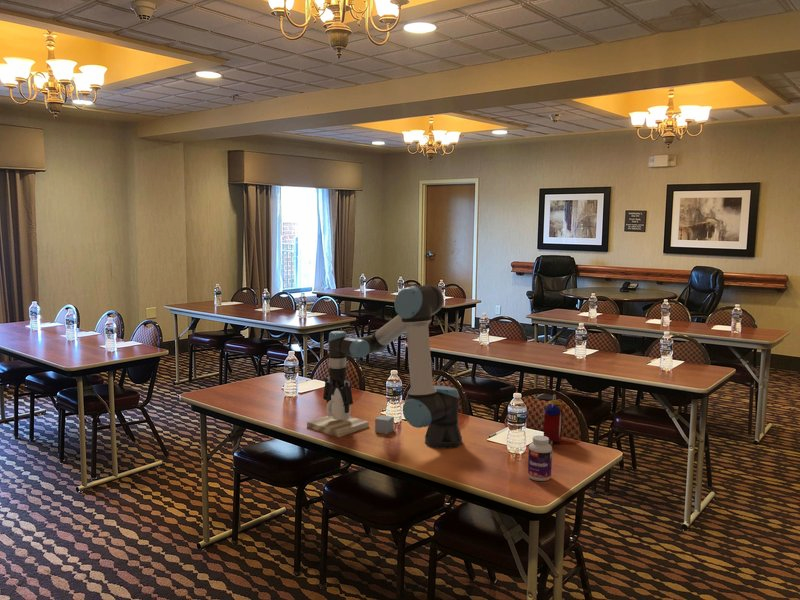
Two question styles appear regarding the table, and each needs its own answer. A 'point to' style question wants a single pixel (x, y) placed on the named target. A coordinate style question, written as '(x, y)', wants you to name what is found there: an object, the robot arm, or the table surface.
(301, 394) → the table surface
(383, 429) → the grey cube
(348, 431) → the birch slab
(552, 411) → the red spray bottle
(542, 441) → the pill bottle
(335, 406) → the mug
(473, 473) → the table surface
